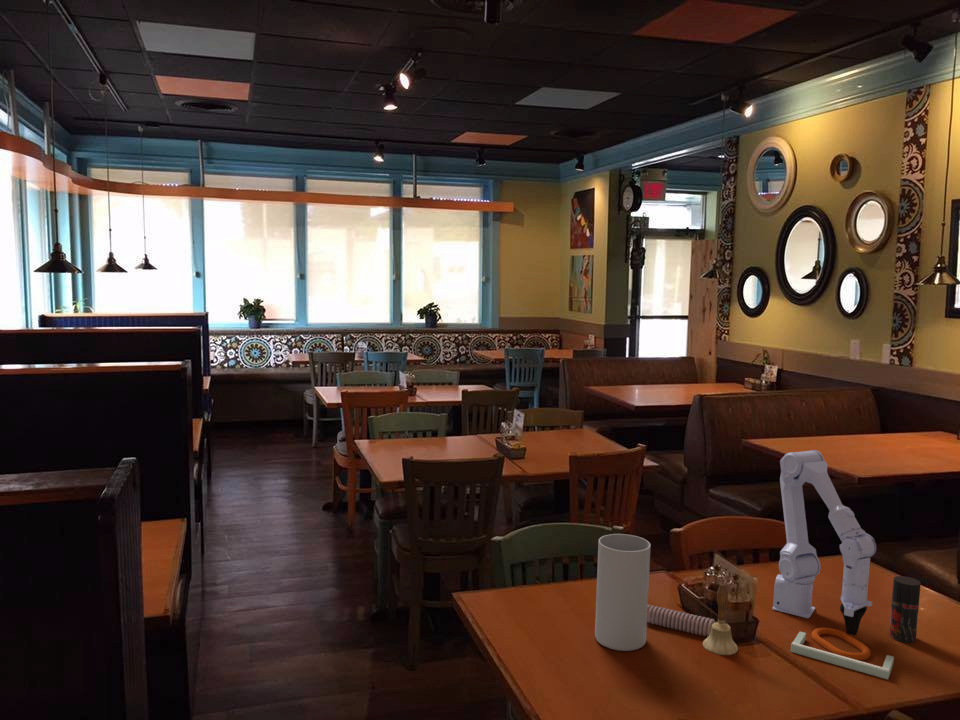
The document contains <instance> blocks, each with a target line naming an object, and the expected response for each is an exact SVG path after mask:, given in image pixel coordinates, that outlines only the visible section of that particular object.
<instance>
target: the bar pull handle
mask: <svg viewBox="0 0 960 720" xmlns="http://www.w3.org/2000/svg"><path fill="white" fill-rule="evenodd" d="M806 640H807V633H806V632H803V631H799V632H798V633H797V634H796V637H795V638H794V640H793V641H792V642H791V644H790V652H791V653H795V654H798V655H799V656H800V655H801V656H804V657H807V658H811V659H815V660H819V661H822V662H824V663H825V662H826V663H829V664H833V665H835V666H839V667H843V668H846V669H850V670H853V671H856V672H860V673H863V674H866V675H871V676H874V677H877V678H881V679H884V680H889V677H890V675H891V673H892V670H893V666H894V660H895V657H894V656H892V655H888V654H887V655H886V656H885V659H884V662H883V665H882V666H879V665H875V664H872V663H868V662H865V661H863V660H855V659H851V658H848V657H844V656H840V655H837V654H833V653H832V652H830V651H825V650H822V649H818V648H815V647H811V646H807V645H806V644H805V645H804V643H805V642H806Z"/></svg>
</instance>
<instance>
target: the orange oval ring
mask: <svg viewBox="0 0 960 720" xmlns="http://www.w3.org/2000/svg"><path fill="white" fill-rule="evenodd" d="M824 635H828V636H829V635H830V636H834V637H838V638H840V639H842V640H844V642H845V641H846V642H847V643H849V644H850V645H852V646H853V647H855V648H856V649H858V650H859V651H861V652H849V651H844V650H842V649H840V648H838V647H836V646H834V645H833V644H831V643H830V642H828V641H827V640H825V639H824V638H823V637H821V636H824ZM811 638H812V640H813V642H815V643H817V644H818V645H820V647H822V648H824V649H826V650H827V652H830V653H833V654H837V655H840V656H844V657H848V658H851V659H855V660H858V661H864V660H867V659H869V658H870V656H871V650H870V648H869V646H867V645H866V644H865V643H863V642H861V641H859V640H858V639H857V638H854V637H853V636H851V635H850V634H847V632H846V631H843V630H839V629H837V628H832V627H819V628H815V629H814V630H812V632H811Z"/></svg>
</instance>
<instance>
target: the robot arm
mask: <svg viewBox="0 0 960 720" xmlns="http://www.w3.org/2000/svg"><path fill="white" fill-rule="evenodd" d="M779 464H780V477H779V483H780V492H781V493H780V494H781V501H782V503H781V504H782V509H783V510H782V511H783V512H782V513H783V519H784V527H785V535H786V536H785V537H786V544H785V545H784V546H783V547H782V548H781V550H780V551H779V556H780V557H779V561H778V569H779V572H780V574H779V573H778V574H777V575H776V577H775V582H774V588H773V601H772V602H773V603H772V605H773V606H772V610H774V611H777V612H780V613H785V614H790V615H793V616H797V617H800V618H804V619H810V618H811V616H812V614H813V613H814V612H815V610H816V607H815V606H812V601H813V592H814V591H813V589H814V581H815V580H816V576H818V575H819V574H820V572H821V566H822V565H821V561H820V559H819V557H818V555H817V549H816V548H815V547H814V546H812V545H811V544H810V543H809V536H808V535H809V533H808V524H807V519H806V517H807V516H806V509H805V500H804V499H805V498H804V491H803V485H804V484H805V483H807V484H808V483H809V484H811V485H812V486H813V487H814V489H815V490H816V492H817V493H818V495H819V496H820V498H821V499H822V501H823V502H824V504H825V505H826V507H827V508H828V511H829V512H828V516H827V517H828V519H829V521H830V523H831V525H832V527H833V528H834V531H835V532H836V534H837V536H838V538H839V539H840V541H841V544H839V550H840V553H841V555H842V562H843V572H842V573H843V574H842V589H841V595H840V602H841V604H840V606H839V611H840V612H841V614H842V617H843V619H844V623H845V624H844V625H845V626H844V627H845V633H846V634H848V635H850V636H851V635H852V636H857V634H858V632H859V627H860V624H861V620H862V618H863V617H864V615H865V614H866V611H867V609H868V607H872V605H873V601H870V600H868V590H869V579H870V578H869V577H870V564H871V557H872V556H874V555H875V554H876V551H877V543H876V541H875V538H874V537H873V536H872V535H870V534H869V533H866V531H865V530H864V529H863V528H861V525H860V524H859V522H858V520H857V518H856V517H855V513H854V511H853V510H852V509H851V508H850V507H848V506H845V505H844V504H843V503H842V501H841V498H840V497H839V495H838V493H837V491H836V488H835V486H834V484H833V482H832V480H831V477H830V476H829V474H828V463H827V462H826V460H825V458H824V455H823V454H822V453H821V452H820V451H819V450H815V449H811V450H806V451H796V452H795V451H794V452H791V451H790V452H787V453H785V454H784V456H782V458H780V460H779Z"/></svg>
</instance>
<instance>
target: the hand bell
mask: <svg viewBox="0 0 960 720" xmlns="http://www.w3.org/2000/svg"><path fill="white" fill-rule="evenodd" d="M728 595H729V593H728V590H727V586H726V584H725V583H719V586H718V589H717V592H716V603H717V608H718V609H717V610H718V613H717V614H718V615H717V621H715V623H713V624H712V626H711V632H710V635H709V636H708V637H706V638H705V639H703V641H702V646H703V648H704V649H705V650H706V651H708V652H710V653H712V654H716V655H719V656H721V655H722V656H732V655H735V654H736V653H738V651H739V647H738V645H737V644H736V642H735V641H734V639H733V636H732V629H731V626H730V625H729V624H728V623H726V607H727V605H728V599H729V598H728V597H729V596H728Z"/></svg>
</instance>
